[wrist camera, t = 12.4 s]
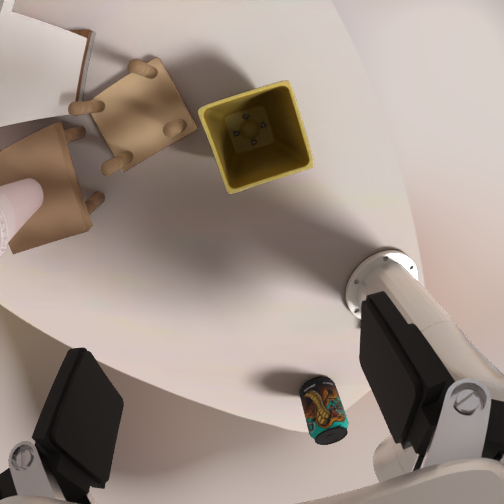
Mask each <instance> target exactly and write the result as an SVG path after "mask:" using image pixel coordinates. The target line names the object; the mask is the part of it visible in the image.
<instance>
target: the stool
mask: <svg viewBox="0 0 504 504" xmlns="http://www.w3.org/2000/svg"><path fill="white" fill-rule="evenodd" d="M85 133H86V131H85V128H84V127H82V126H78V127H74V128H69V129H65V130H63V126H62V122H57V123H53V124H51V125H49V126H47V127H45V128H43V129H41V130H39V131H37V132H35V133H33V134H31V135H29V136H27V137H25V138H23V139H21V140H19V141H18V142H16V143H14V144H12V145H10V146H9V147H7V148H5V149H3V150H2V151H0V186H2V185H6V184H9V183H13V182H16V181H20V180H23V179H27V178H32V179H35V180H36V181H37V182H38V183H39V184H40V185H41V187H42V190H43V203H42V205H41V206H40V208H39V209H38V210H37V211H36V212H35V213H34V214H33V215H32V216H31V217H30V218H29V219H28V220H27V222H26V223H25V224H24V225H23V226H22V227H21V228H20V229H19V231H18V232H17V233H16V234H15V235H14V236H13V237H12V239H11V240H10V241H9V242H8V244H9V246H10V248H11V251H12V253H13V254H16V253H19V252H22V251H25V250H28V249H31V248H34V247H37V246H40V245H44V244H47V243H50V242H53V241H57V240H60V239H63V238H67V237H70V236H73V235H77V234H80V233H84V232H87V231H88V230H89V229H90V228H91V227H92V226H93V224H92V221H91V219H90V216H89V215H90V214H91V213H92V212H93V211H94V210H95V209H96V208H97V207H98V206H99V205H101V204H102V203H103V202H104V200H105V197H104V194H103V193H101V192H96V193H95V194H94V195H92V196H91V197H90V198H89V199H87V200H86V201H84V199H83V196H82V192H81V189H80V186H79V183H78V180H77V177H76V173H75V170H74V167H73V163H72V160H71V156H70V153H69V149H68V145H67V143H68V142H71V141H74V140H77V139H80V138H83V137H84V136H85Z"/></svg>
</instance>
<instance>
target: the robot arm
mask: <svg viewBox="0 0 504 504" xmlns="http://www.w3.org/2000/svg"><path fill="white" fill-rule="evenodd" d="M345 297H346V303H347V305H348V308H349V309H350V311H351V313H352V314H353V315H354V316H355V317H357V318H359V319H361V334H360V355H359V359H360V364H361V367H362V370H363V372H364V374H365V376H366V378H367V380H368V383H369V385H370V387H371V389H372V392H373V394H374V396H375V398H376V400H377V403H378V405H379V407H380V410H381V412H382V414H383V416H384V419H385V421H386V423H387V426H388V428H389V430H390V433H391V435H390V436H388V437H387V438H386V439H384V440H383V441H382V442H381V444H379V446H378V447H377V449H376V450H375V453H374V456H373V466H374V470H375V474H376V476H377V478H378V480H379V483H377V484H373V485H370V486H367V487H363V488H360V489H356V490H353V491H349V492H345V493H341V494H338V495H334V496H330V497H326V498H321V499H317V500H313V501H307V502H303V503H297V504H504V374H503V373H502V372H501V371H500V370H499V369H498V368H497V367H496V366H494V365H493V364H492V363H491V362H490V361H489V360H488V359H487V358H486V357H485V356H484V355H483V354H482V353H481V352H480V351H479V350H478V349H477V348H476V346H475V345H474V344H473V343H472V342H471V341H470V340H469V339H468V337H466V335H465V334H464V333H463V332H462V330H461V329H460V328H459V327H458V326H457V324H456V323H455V322H454V321H453V320H452V319H451V317H450V316H449V315H448V314H447V313H446V312H445V310H444V309H443V308H442V307H441V306H440V305H439V303H438V302H437V301H436V300H435V299H434V298H433V297H432V296H431V294H429V292H428V291H427V290H426V289H425V288H424V287H423V286H422V285H421V283H420V282H419V281H418V272H417V268H416V265H415V263H414V262H413V261H412V260H411V258H410V257H408V256H407V255H406V254H404V253H402V252H400V251H396V250H387V251H382V252H379V253H376V254H374V255H372V256H370V257H369V258H367V259H366V260H365V261H363V262H362V263H361V264H360V265H359V266H358V267H357V268H356V269H355V271H354V272H353V274H352V275H351V277H350V279H349V281H348V284H347V287H346V294H345ZM123 406H124V405H123V399H122V397H121V396H120V394H119V393H118V392H117V390H116V389H115V388H114V386H113V385H112V383H111V382H110V381H109V379H108V378H107V376H106V375H105V373H104V372H103V370H102V369H101V367H100V366H99V364H98V363H97V361H96V360H95V358H94V356H93V355H92V353H91V352H89V351H87V349H85V348H73V349H70V350H69V351H68V352H67V355H66V357H65V359H64V361H63V363H62V365H61V367H60V370H59V372H58V374H57V376H56V379H55V381H54V383H53V385H52V388H51V390H50V392H49V395H48V397H47V400H46V402H45V405H44V407H43V409H42V412H41V414H40V417H39V420H38V422H37V425H36V427H35V430H34V433H33V436H32V438H33V439H34V440H35V441H36V442H35V445H34V444H33V443H31V442H29V441H23V442H20V443H18V444H17V445H16V446H14V448H13V449H12V450H11V453H10V455H9V467H10V468H8V469H7V470H5V471H4V472H3V473H1V474H0V504H97V503H96V501H95V500H94V498H93V496H92V494H91V493H90V491H89V488H90V486H92V487H95V488H103V489H104V488H105V483H106V482H107V481H108V480H109V475H110V470H111V464H112V459H113V454H114V449H115V443H116V439H117V433H118V429H119V424H120V420H121V415H122V411H123Z"/></svg>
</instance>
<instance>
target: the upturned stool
mask: <svg viewBox="0 0 504 504" xmlns="http://www.w3.org/2000/svg"><path fill="white" fill-rule="evenodd" d="M128 70H129V71H130V72H131V73H130V74H128V75H127V76H125V77H124V78H122V79H120V80H119V81H117V82H116V83H114V84H113V85H111V86H110V87H109V88H107V89H106V90H104V91H103V92H101V93H100V94H98V95H97V96H96V97H94V98H93V99H92V100H90V101H77V102H72V103H70V105H69V107H68V112H69V114H70V115H73V116H74V115H81V114H89V113H91V115H92V117H93V119H94V121H95V122H96V124H97V126H98V128H99V130H100V131H101V133H102V135H103V137H104V139H105V140H106V142H107V144H108V146H109V148H110V149H111V151H112V153H113V155H114V156H115V157H114V158H112V159H110V160H108V161H106V162H104V163H103V164H102V166H101V172H102V173H103V174H104V175H106V176H109V175H111V174H113V173H114V172H116V171H117V170H119V169H120V168H122V170H123V172H126V171H127V170H129V169H130V168H132V167H134V166H135V165H137V164H138V163H140V162H142V161H143V160H145V159H147V158H148V157H150V156H152V155H153V154H155V153H157V152H158V151H160V150H162V149H163V148H165V147H167V146H169V145H170V144H172V143H174V142H176V141H178V140H179V139H181V138H183V137H185V136H187V135H188V134H190V133H192V132H194V131H196V130H198V127H197V125H196V124H195V122H194V120H193V118H192V116H191V114H190V113H189V111H188V109H187V107H186V105H185V103H184V101H183V100H182V98H181V96H180V94H179V92H178V90H177V89H176V87H175V85H174V83H173V81H172V80H171V78H170V76H169V74H168V72H167V70H166V69H165V67H164V65H163V63H162V61H161V59H160V58H158V57H157V58H155V59H153V60H151V61H150V62H148V63H145V62H143V61H141V60H139V59H133V60H132V61H130V63H129V64H128Z"/></svg>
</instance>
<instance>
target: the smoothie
mask: <svg viewBox="0 0 504 504" xmlns="http://www.w3.org/2000/svg"><path fill="white" fill-rule="evenodd" d="M42 203H43V190H42V187H41V185H40V184H39V183H38V182H37V181H36V180H35V179H32V178H27V179H23V180H20V181H16V182H13V183H9V184H6V185H2V186H0V256H1V255H2V254H3V253H4V251H5V250H6V248H7V244H8V242H9V241H10V240H11V239H12V237H13V236H14V235H15V234H16V233H17V232H18V231H19V229H20V228H21V227H22V226H23V225H24V224H25V223H26V222H27V220H28V219H29V218H30V217H31V216H32V215H33V214H34V213H35V212H36V211H37V210H38V209H39V208H40V206H41V205H42Z"/></svg>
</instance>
